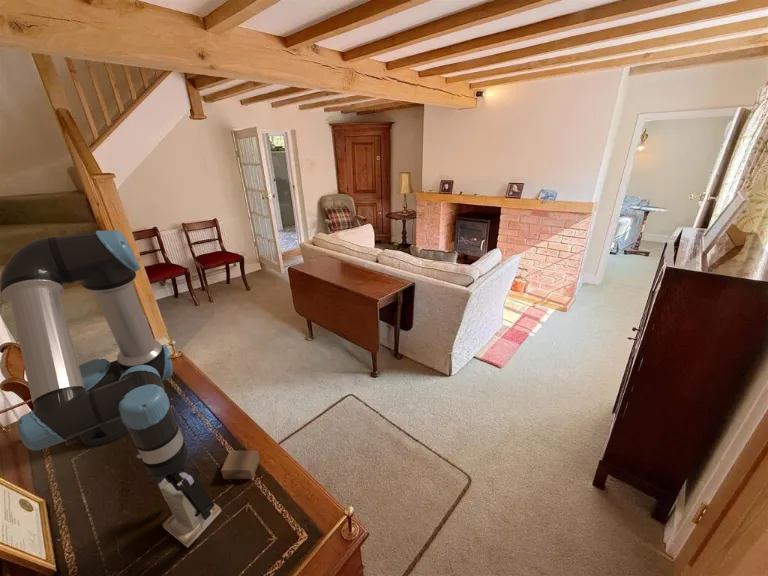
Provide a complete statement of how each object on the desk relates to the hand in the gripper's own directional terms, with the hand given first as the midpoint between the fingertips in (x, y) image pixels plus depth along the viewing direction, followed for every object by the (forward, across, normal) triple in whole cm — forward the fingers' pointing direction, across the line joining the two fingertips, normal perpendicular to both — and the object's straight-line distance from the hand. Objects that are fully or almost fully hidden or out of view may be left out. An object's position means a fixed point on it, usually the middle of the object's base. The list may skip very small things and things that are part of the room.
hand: (189, 509), depth 77 cm
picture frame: (+4, 0, 0) cm, 4 cm away
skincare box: (+3, 0, 0) cm, 3 cm away
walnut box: (+4, 0, +15) cm, 16 cm away
